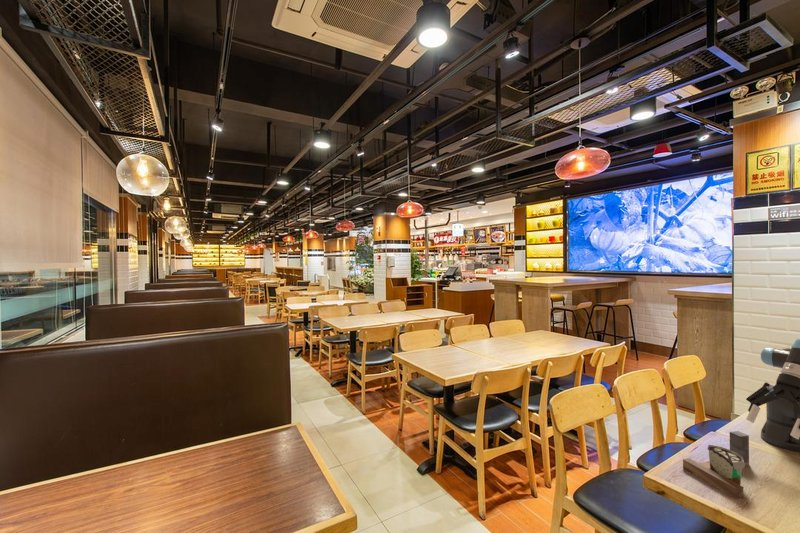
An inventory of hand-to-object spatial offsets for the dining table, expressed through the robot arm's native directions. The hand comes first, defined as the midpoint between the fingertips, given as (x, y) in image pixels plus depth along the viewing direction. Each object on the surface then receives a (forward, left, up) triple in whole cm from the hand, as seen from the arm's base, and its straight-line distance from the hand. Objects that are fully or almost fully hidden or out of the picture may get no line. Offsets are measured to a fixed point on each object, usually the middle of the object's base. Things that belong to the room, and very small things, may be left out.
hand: (770, 428), depth 127 cm
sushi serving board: (+17, +1, -15) cm, 23 cm away
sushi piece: (+23, +3, -15) cm, 27 cm away
